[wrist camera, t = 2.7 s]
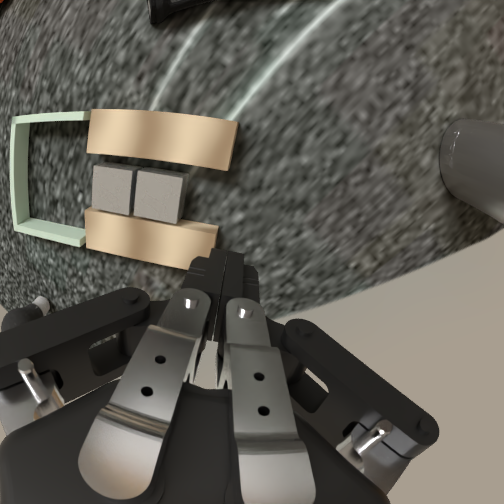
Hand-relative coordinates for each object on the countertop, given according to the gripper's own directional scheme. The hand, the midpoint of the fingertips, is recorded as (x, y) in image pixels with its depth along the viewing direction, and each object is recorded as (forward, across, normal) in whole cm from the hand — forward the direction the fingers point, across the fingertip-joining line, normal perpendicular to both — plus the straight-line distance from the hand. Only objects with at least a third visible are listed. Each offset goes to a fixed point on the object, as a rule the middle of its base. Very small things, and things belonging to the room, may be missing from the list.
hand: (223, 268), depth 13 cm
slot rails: (+13, +8, 0) cm, 15 cm away
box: (+13, +20, 0) cm, 24 cm away
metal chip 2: (+13, +6, 0) cm, 14 cm away
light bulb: (+13, +24, +18) cm, 33 cm away
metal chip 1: (+13, +11, 0) cm, 17 cm away
